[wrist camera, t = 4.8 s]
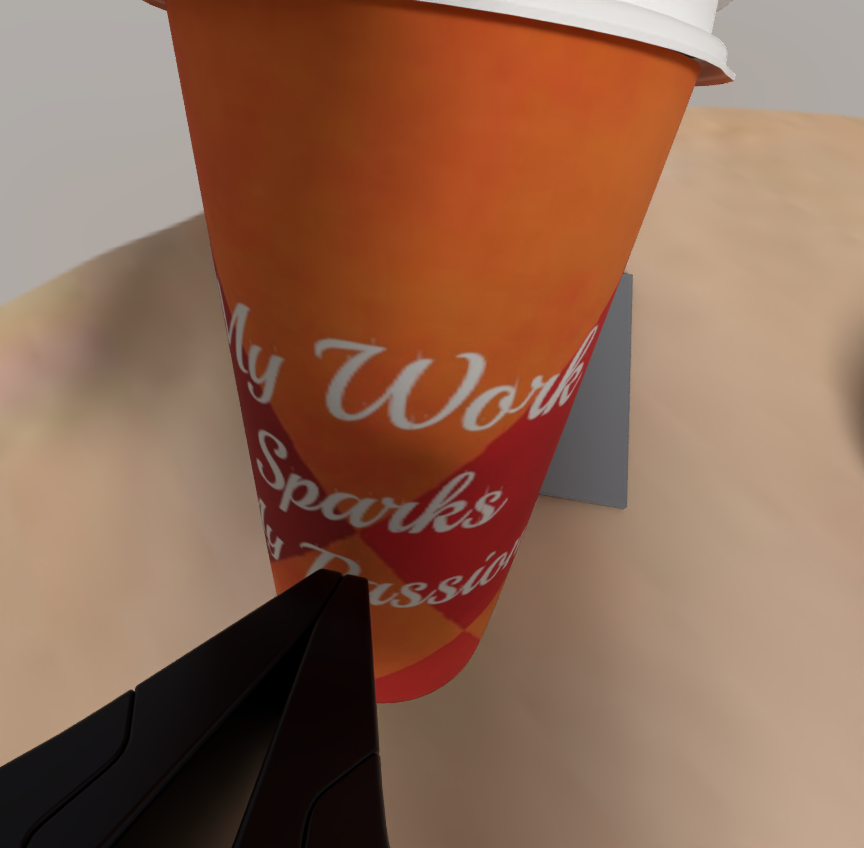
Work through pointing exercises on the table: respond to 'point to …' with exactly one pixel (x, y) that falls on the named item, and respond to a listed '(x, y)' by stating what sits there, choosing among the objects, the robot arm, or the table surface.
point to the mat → (599, 418)
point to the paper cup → (423, 268)
